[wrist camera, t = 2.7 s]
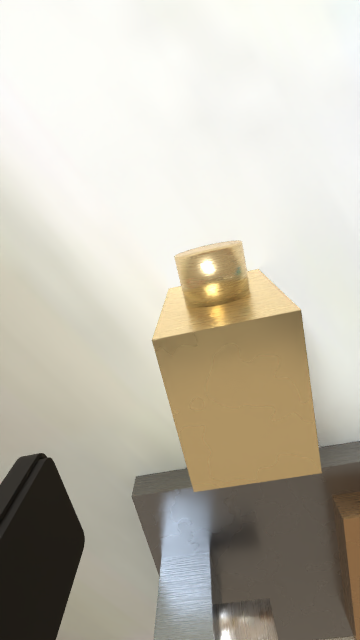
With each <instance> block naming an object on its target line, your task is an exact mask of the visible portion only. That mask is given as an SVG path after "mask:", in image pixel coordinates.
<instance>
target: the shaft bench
mask: <svg viewBox="0 0 360 640" xmlns="http://www.w3.org/2000/svg"><path fill="white" fill-rule="evenodd" d="M319 455H320V463H321V471H322V473H319V474H313V475H306V476H299V477H292V478H286V479H279V480H272V481H266V482H259V483H252V484H246V485H239V486H232V487H225V488H219V489H212V490H205V491H199V492H194V491H193V487H192V483H191V480H190V476H189V472H188V469H182V470H175V471H169V472H163V473H156V474H150V475H144V476H137V477H136V479H135V484H134V488H133V493H132V499H133V502H134V505H135V508H136V510H137V513H138V516H139V519H140V522H141V525H142V528H143V530H144V533H145V536H146V539H147V542H148V545H149V548H150V551H151V553H152V556H153V559H154V562H155V565H156V568H157V571H158V574H159V576H160V578H159V589H158V599H157V610H156V620H155V631H154V640H319V639H329V638H339V637H350V636H354V638H355V640H360V441H359V442H352V443H346V444H340V445H333V446H327V447H321V448H319Z"/></svg>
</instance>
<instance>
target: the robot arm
mask: <svg viewBox="0 0 360 640" xmlns="http://www.w3.org/2000/svg"><path fill="white" fill-rule="evenodd" d="M84 542H85V537H84V532H83V529H82V527H81V525H80V522H79V520H78V518H77V515H76V513H75V510H74V508H73V506H72V503H71V501H70V499H69V496H68V494H67V492H66V489H65V487H64V485H63V482H62V480H61V477H60V475H59V473H58V470H57V468H56V466H55V463H54V461H53V460H52V459H51V458H47V456H46V455H45V454H43V453H39V454H34V455H28V456H23V457H20V458H19V459H18V460H17V461H16V462H15V464H14V465H13V467H12V468H11V470H10V471H9V473H8V474H7V476H6V477H5V479H4V480H3V481H2V483H1V484H0V640H56V637H57V634H58V630H59V627H60V624H61V620H62V617H63V614H64V611H65V607H66V604H67V601H68V598H69V594H70V591H71V588H72V585H73V581H74V578H75V575H76V572H77V568H78V565H79V562H80V558H81V555H82V552H83V548H84Z"/></svg>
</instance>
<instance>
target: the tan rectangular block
mask: <svg viewBox="0 0 360 640" xmlns="http://www.w3.org/2000/svg"><path fill="white" fill-rule="evenodd" d="M174 257H175V262H176V266H177V270H178V274H179V279H180V283H181V286H179V287H174V288H170V289H169V290H168V293H167V296H166V299H165V302H164V305H163V308H162V311H161V314H160V317H159V320H158V323H157V326H156V329H155V332H154V335H153V338H152V342H153V346H154V349H155V353H156V356H157V360H158V364H159V367H160V371H161V375H162V378H163V382H164V385H165V389H166V393H167V396H168V400H169V404H170V407H171V411H172V414H173V418H174V422H175V425H176V429H177V433H178V436H179V440H180V443H181V447H182V451H183V454H184V458H185V462H186V465H187V469H188V472H189V476H190V480H191V483H192V487H193V491H194V492H199V491H205V490H212V489H219V488H225V487H232V486H239V485H246V484H252V483H259V482H266V481H272V480H279V479H286V478H292V477H299V476H306V475H313V474H319V473H322V471H321V463H320V455H319V447H318V439H317V432H316V424H315V416H314V408H313V400H312V392H311V385H310V377H309V369H308V361H307V353H306V345H305V337H304V330H303V322H302V314H301V309H300V308H299V307H298V306H296V305H295V304H294V303H293V302H292V301H291V300H290V299H289V298H288V297H287V296H286V295H285V294H284V293H283V292H282V291H281V290H280V289H279V288H278V287H276V286H275V285H274V284H273V283H272V282H271V281H270V280H269V279H268V278H267V277H266V276H265V275H264V274H263V273H262V272H261V271H260V270H259V269H256V270H252V271H247V269H246V263H245V257H244V251H243V246H242V241H227V242H221V243H216V244H211V245H206V246H202V247H198V248H194V249H191V250H188V251H185V252H182V253H179V254H177V255H176V256H174Z"/></svg>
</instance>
